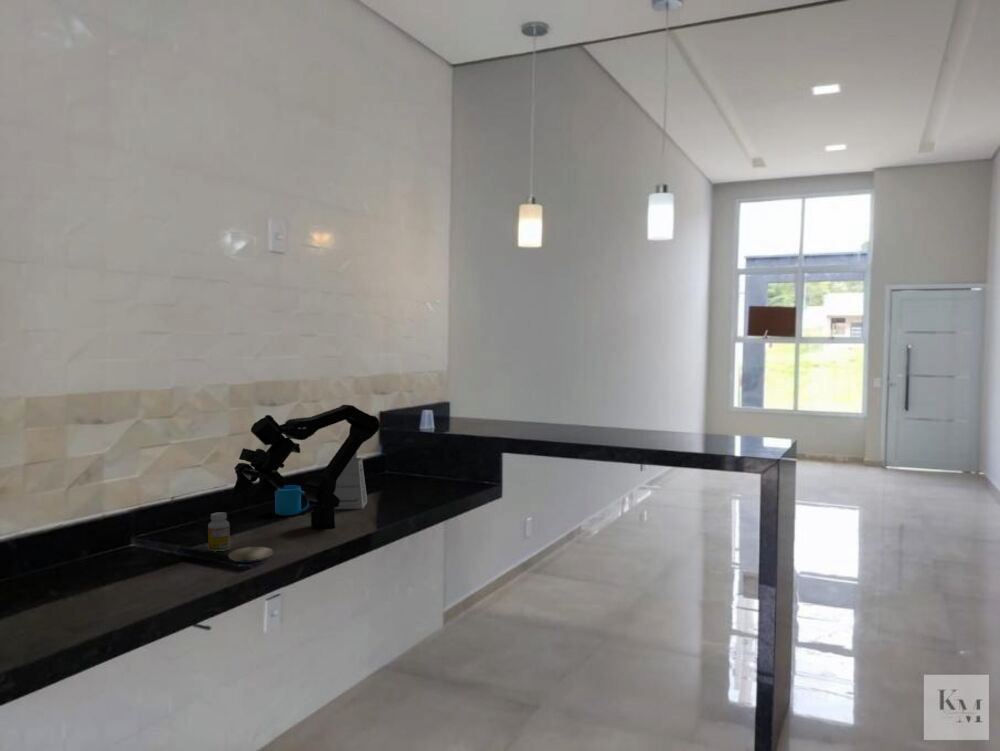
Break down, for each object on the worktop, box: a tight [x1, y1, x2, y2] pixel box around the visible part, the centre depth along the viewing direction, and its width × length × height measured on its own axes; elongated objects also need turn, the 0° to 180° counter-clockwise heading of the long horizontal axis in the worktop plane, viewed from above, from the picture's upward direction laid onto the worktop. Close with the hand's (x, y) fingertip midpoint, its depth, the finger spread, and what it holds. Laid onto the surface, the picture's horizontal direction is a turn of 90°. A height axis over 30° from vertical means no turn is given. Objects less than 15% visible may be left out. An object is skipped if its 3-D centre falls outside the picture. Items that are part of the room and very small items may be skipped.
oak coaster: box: [227, 546, 274, 561], centre depth 189 cm, size 11×11×1 cm
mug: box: [274, 484, 311, 516], centre depth 237 cm, size 12×8×8 cm
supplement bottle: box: [207, 511, 231, 552], centre depth 195 cm, size 5×5×10 cm
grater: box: [333, 452, 368, 510], centre depth 248 cm, size 10×10×20 cm
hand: (240, 500), depth 199 cm, fingers open, 9 cm apart
